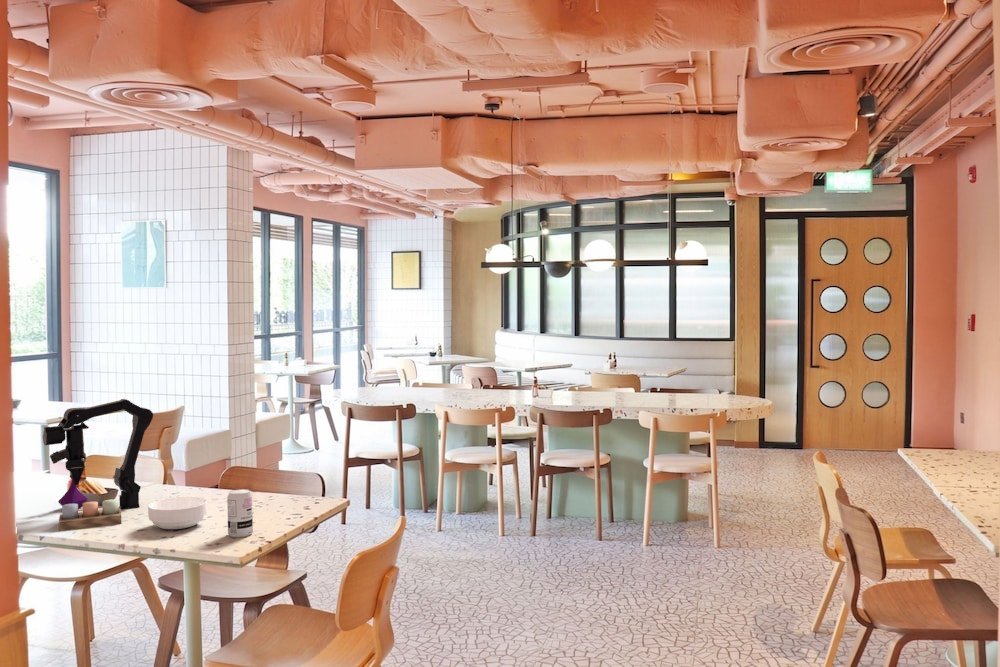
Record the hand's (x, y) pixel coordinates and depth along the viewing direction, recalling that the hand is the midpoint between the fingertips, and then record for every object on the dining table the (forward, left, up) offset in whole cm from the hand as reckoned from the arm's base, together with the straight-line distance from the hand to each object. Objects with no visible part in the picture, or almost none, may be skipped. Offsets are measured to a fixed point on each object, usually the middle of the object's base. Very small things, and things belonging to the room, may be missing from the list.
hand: (77, 482), depth 306 cm
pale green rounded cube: (-11, +15, -10) cm, 21 cm away
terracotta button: (-4, +15, -10) cm, 19 cm away
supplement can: (-50, +57, -13) cm, 77 cm away
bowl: (-32, +35, -13) cm, 50 cm away
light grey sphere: (+2, +15, -10) cm, 18 cm away
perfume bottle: (+2, -13, -13) cm, 18 cm away
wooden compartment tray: (-4, +15, -13) cm, 20 cm away
